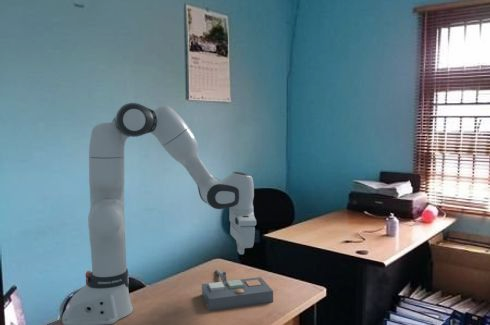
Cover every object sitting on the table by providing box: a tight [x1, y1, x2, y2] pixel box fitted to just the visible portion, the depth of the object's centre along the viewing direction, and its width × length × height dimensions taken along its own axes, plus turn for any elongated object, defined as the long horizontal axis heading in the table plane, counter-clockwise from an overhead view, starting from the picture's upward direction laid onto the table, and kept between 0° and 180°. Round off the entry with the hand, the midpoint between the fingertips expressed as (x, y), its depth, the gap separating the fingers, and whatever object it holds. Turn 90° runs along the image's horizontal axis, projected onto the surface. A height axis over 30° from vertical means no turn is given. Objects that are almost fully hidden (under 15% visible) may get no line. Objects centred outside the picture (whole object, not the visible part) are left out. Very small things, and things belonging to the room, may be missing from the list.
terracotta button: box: [245, 280, 262, 287], centre depth 157 cm, size 5×5×3 cm
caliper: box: [215, 268, 227, 282], centre depth 172 cm, size 20×1×6 cm, turn 13°
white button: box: [208, 281, 225, 292], centre depth 153 cm, size 5×5×3 cm
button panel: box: [201, 276, 274, 311], centre depth 153 cm, size 23×14×5 cm, turn 106°
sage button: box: [226, 279, 244, 289], centre depth 155 cm, size 5×5×3 cm
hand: (240, 253), depth 155 cm, fingers closed
